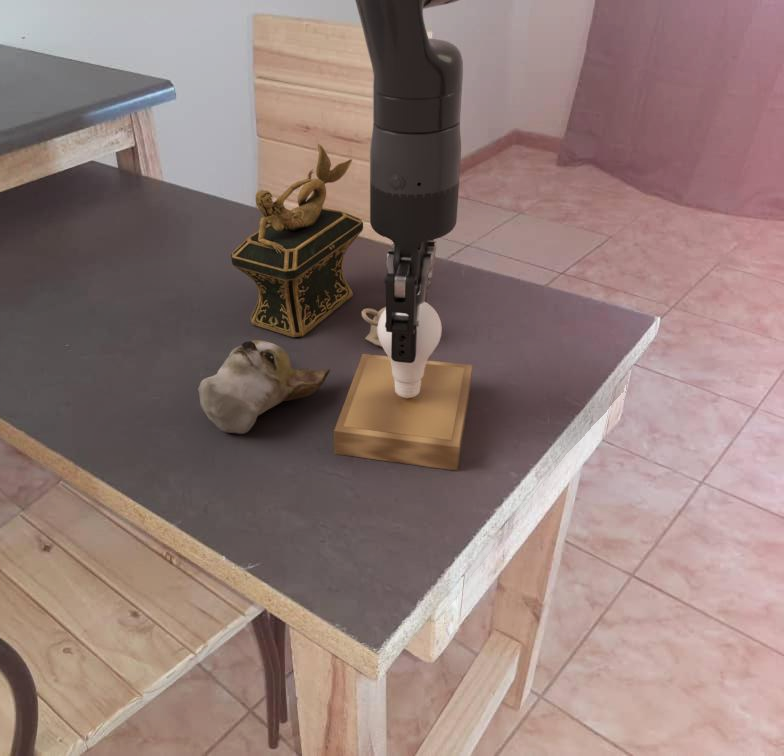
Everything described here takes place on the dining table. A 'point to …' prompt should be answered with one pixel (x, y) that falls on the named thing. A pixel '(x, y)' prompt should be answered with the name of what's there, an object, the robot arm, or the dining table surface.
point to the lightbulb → (427, 341)
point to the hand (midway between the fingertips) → (409, 340)
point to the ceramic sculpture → (254, 385)
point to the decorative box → (299, 255)
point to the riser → (405, 415)
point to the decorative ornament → (373, 324)
